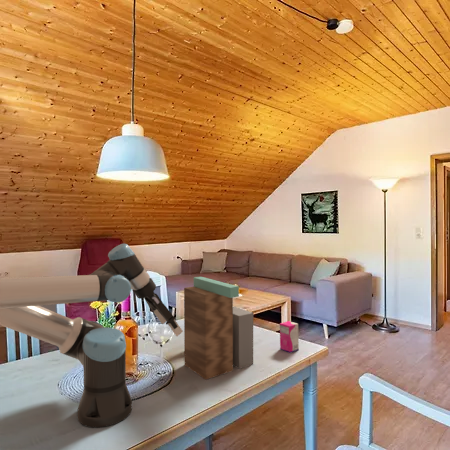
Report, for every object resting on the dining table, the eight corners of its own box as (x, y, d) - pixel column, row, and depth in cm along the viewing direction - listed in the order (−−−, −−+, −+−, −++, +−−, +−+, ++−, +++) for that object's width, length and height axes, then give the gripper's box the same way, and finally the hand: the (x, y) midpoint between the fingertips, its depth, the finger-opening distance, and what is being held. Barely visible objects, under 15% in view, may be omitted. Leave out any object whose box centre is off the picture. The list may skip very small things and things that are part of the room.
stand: (205, 379, 124) (205, 294, 123) (184, 365, 136) (184, 287, 136) (232, 370, 131) (232, 290, 130) (210, 357, 143) (210, 284, 143)
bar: (230, 298, 119) (230, 287, 119) (193, 286, 138) (193, 277, 138) (238, 296, 121) (238, 286, 121) (201, 285, 140) (201, 276, 140)
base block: (239, 368, 133) (239, 315, 132) (220, 358, 143) (220, 309, 142) (253, 364, 137) (253, 312, 137) (234, 354, 147) (234, 306, 146)
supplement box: (288, 346, 156) (288, 320, 156) (299, 350, 151) (299, 323, 151) (279, 349, 152) (279, 322, 152) (289, 353, 148) (289, 326, 147)
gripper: (163, 284, 114) (194, 331, 121) (139, 270, 135) (167, 311, 143) (144, 299, 111) (177, 346, 118) (122, 282, 132) (152, 323, 140)
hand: (172, 327), depth 131 cm, fingers open, 13 cm apart
